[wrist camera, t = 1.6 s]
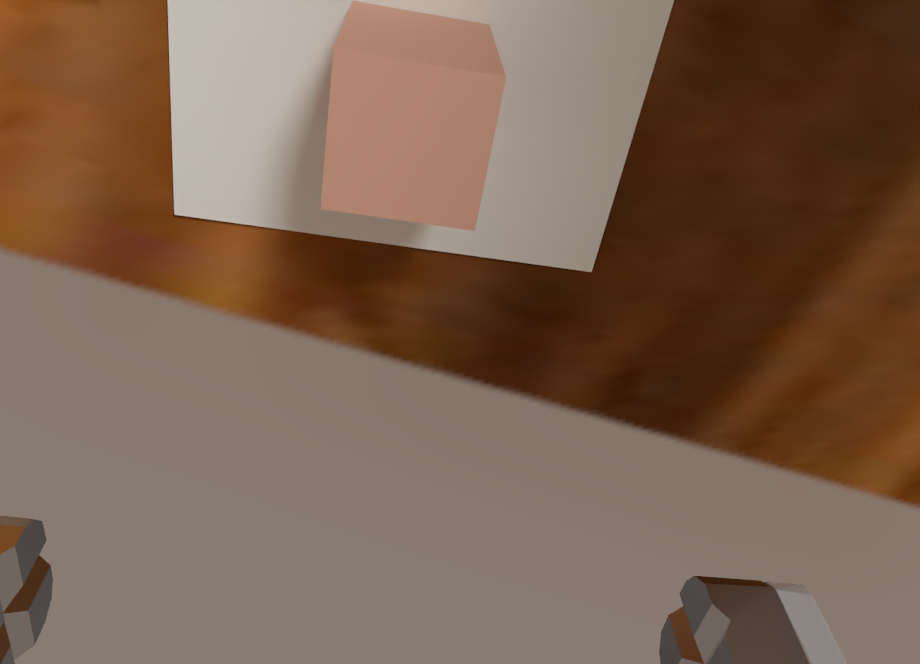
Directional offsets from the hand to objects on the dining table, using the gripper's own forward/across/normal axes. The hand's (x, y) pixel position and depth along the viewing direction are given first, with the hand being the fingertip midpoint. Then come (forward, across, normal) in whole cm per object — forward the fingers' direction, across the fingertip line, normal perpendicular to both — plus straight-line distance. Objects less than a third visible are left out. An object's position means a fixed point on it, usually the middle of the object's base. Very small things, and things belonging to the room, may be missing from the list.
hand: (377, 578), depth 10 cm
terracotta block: (+23, 0, 0) cm, 23 cm away
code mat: (+23, 0, 0) cm, 23 cm away
